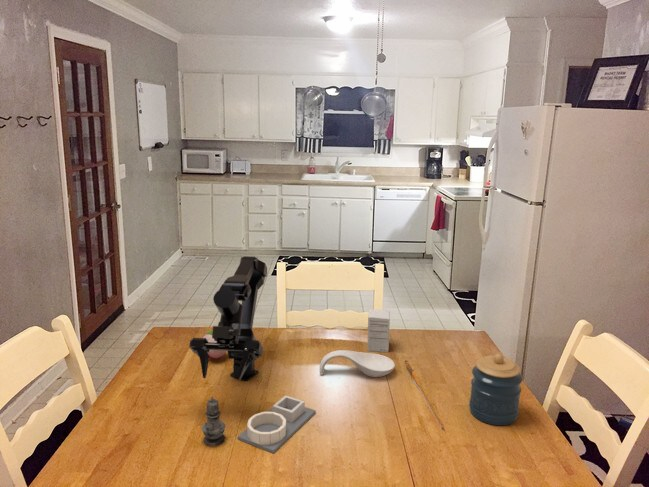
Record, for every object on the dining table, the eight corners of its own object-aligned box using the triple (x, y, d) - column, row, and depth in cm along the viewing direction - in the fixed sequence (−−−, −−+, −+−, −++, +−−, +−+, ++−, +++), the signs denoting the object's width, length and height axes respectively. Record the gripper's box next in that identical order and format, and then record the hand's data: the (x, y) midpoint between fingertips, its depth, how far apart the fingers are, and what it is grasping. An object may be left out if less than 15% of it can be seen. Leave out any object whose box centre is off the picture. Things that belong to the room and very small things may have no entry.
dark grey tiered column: (220, 448, 129) (218, 404, 126) (198, 445, 130) (195, 401, 127) (229, 434, 134) (227, 392, 131) (208, 431, 135) (205, 389, 132)
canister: (517, 405, 149) (524, 347, 144) (518, 430, 137) (525, 369, 132) (470, 396, 153) (475, 340, 148) (466, 421, 141) (472, 361, 136)
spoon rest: (390, 363, 172) (391, 343, 171) (397, 382, 161) (398, 360, 159) (318, 364, 171) (319, 344, 169) (320, 383, 160) (320, 361, 158)
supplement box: (367, 341, 188) (369, 308, 184) (388, 343, 187) (390, 310, 183) (366, 351, 180) (367, 316, 177) (388, 352, 179) (389, 318, 176)
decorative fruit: (235, 356, 175) (234, 329, 173) (217, 366, 169) (216, 337, 166) (214, 349, 180) (213, 322, 178) (196, 359, 174) (195, 331, 171)
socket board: (282, 401, 149) (282, 389, 148) (315, 413, 144) (315, 400, 143) (237, 439, 132) (237, 425, 131) (273, 453, 127) (273, 439, 126)
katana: (439, 434, 137) (440, 425, 136) (404, 365, 170) (404, 357, 169) (444, 433, 137) (445, 425, 136) (408, 365, 170) (408, 357, 170)
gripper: (189, 309, 138) (177, 368, 130) (259, 312, 137) (251, 371, 129) (200, 325, 148) (189, 380, 140) (265, 327, 146) (258, 383, 139)
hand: (221, 378), depth 137 cm, fingers open, 9 cm apart
